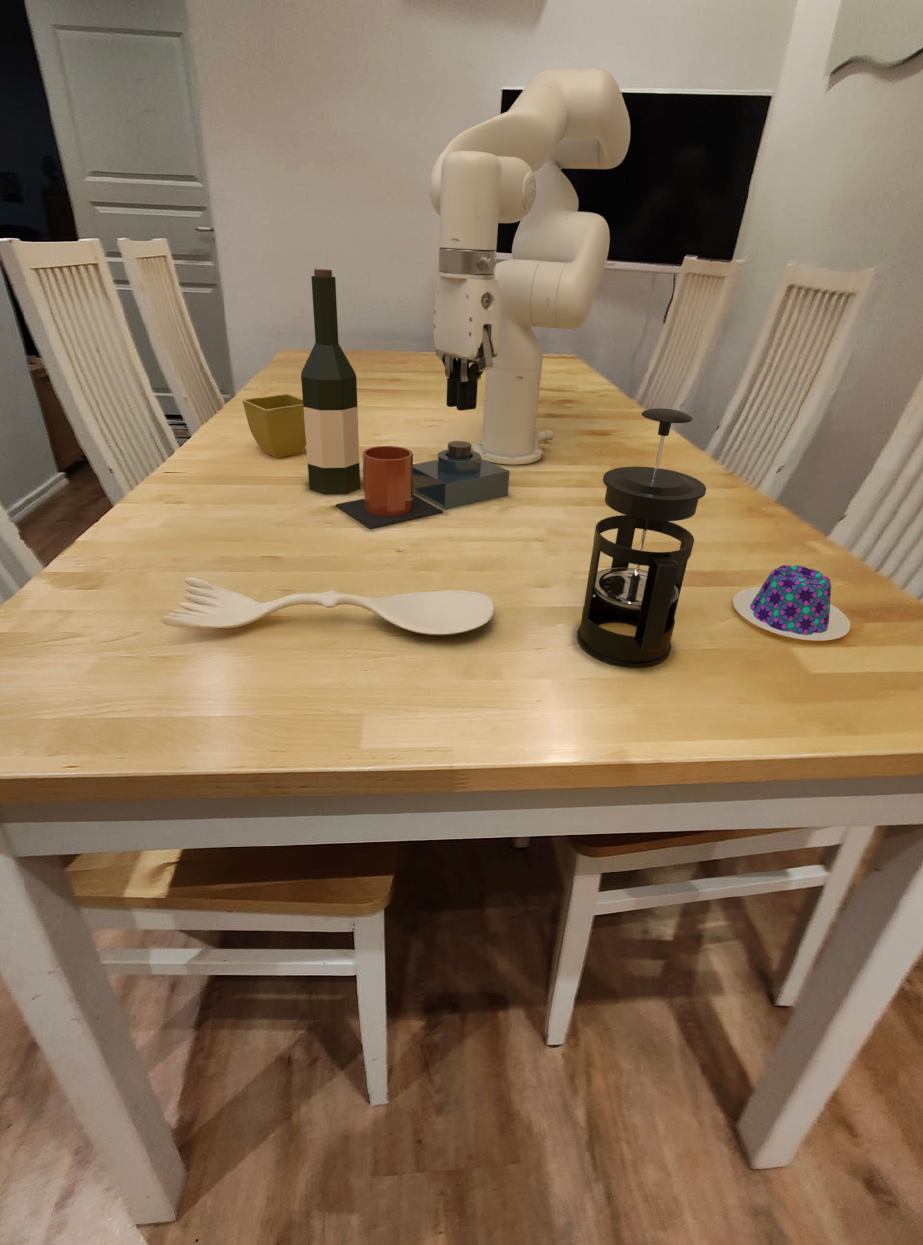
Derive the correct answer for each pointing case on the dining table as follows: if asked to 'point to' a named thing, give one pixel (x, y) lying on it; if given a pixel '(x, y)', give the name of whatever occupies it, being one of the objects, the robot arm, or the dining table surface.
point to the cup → (388, 480)
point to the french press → (639, 559)
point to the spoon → (404, 610)
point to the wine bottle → (329, 400)
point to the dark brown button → (459, 450)
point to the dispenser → (459, 480)
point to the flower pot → (277, 424)
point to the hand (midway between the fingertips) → (461, 406)
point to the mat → (375, 521)
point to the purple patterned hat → (794, 605)
